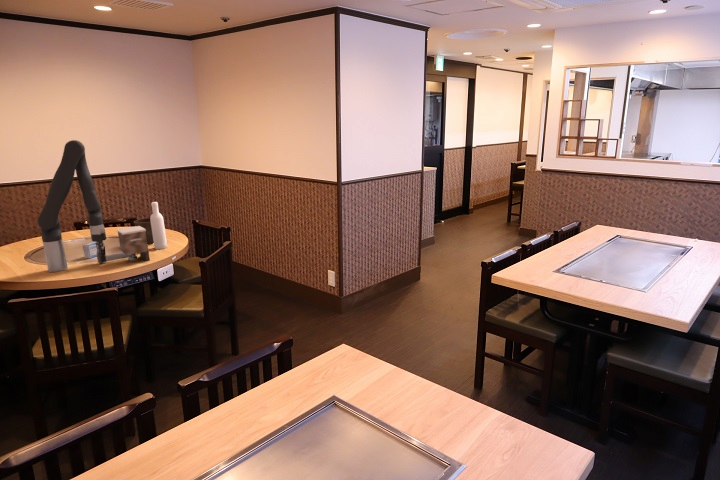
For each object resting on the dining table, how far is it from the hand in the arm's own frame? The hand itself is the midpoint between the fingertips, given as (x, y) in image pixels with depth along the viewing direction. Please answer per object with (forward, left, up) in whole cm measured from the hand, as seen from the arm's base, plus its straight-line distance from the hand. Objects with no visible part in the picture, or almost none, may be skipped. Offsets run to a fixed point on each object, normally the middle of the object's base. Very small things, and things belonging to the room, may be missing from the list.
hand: (102, 260), depth 275 cm
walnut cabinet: (+16, -9, -1) cm, 18 cm away
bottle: (+36, +11, -2) cm, 38 cm away
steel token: (+15, -6, -2) cm, 16 cm away
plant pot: (+34, +30, -2) cm, 45 cm away
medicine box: (-2, +21, -2) cm, 21 cm away
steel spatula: (+8, 0, -1) cm, 8 cm away
